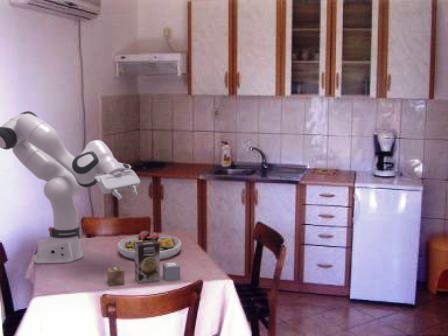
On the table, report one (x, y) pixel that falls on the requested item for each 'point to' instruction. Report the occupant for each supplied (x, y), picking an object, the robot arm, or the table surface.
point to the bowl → (167, 243)
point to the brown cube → (115, 276)
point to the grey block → (171, 271)
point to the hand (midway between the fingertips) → (128, 197)
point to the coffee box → (147, 261)
